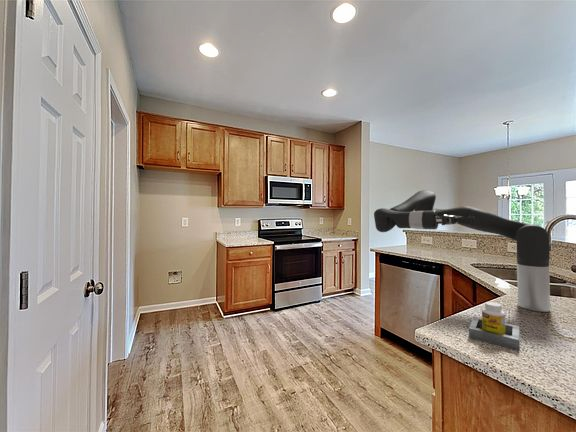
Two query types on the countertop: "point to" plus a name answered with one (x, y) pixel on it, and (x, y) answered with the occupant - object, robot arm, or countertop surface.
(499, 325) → the supplement bottle
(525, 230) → the robot arm
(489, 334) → the square grey bottle holder
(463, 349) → the countertop surface
